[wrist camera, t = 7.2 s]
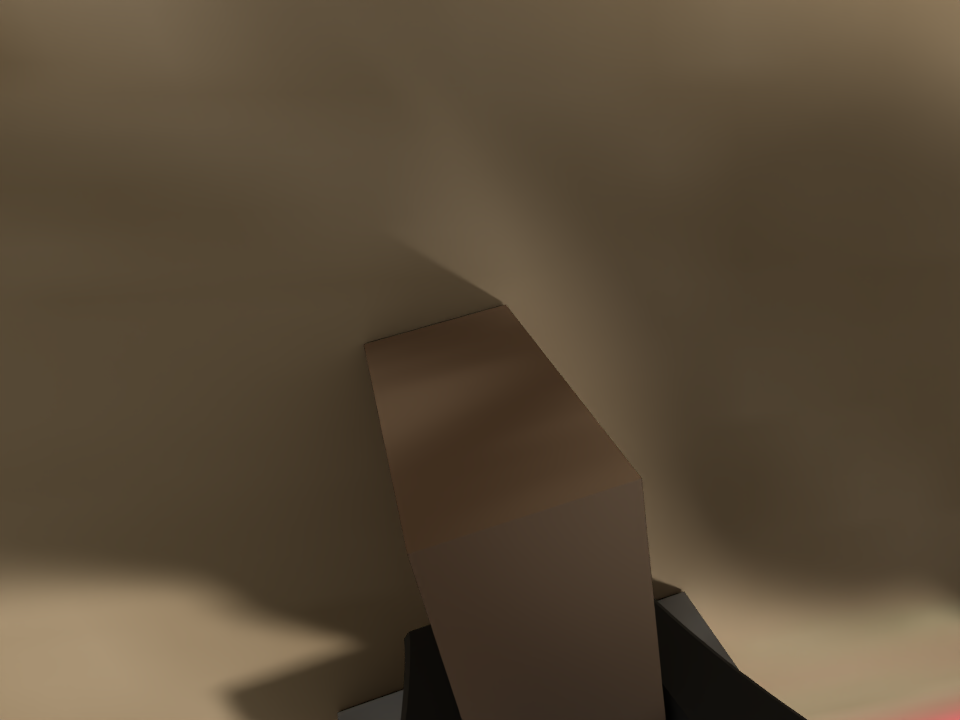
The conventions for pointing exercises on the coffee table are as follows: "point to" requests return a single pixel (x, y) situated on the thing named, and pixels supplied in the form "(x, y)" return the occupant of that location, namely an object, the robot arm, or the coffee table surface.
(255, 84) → the coffee table surface
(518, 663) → the plank on grey base
